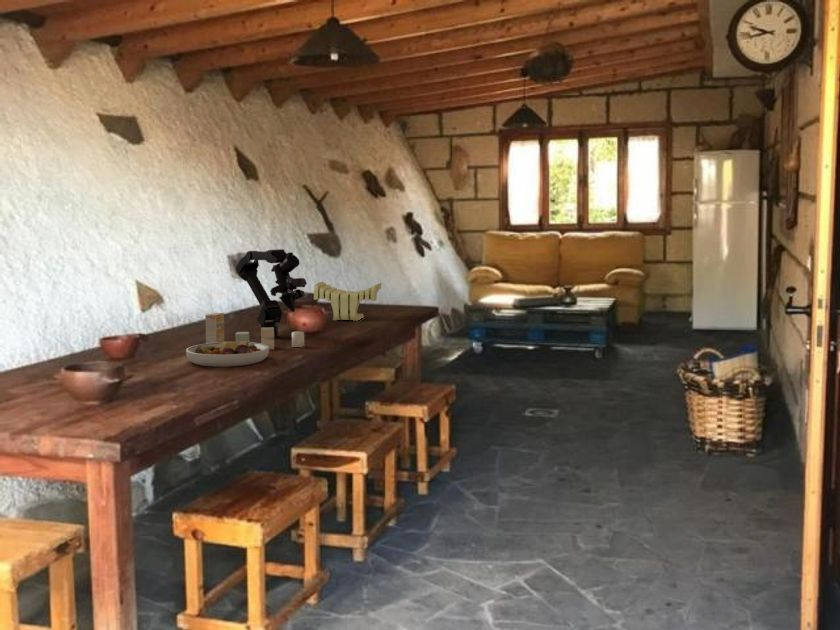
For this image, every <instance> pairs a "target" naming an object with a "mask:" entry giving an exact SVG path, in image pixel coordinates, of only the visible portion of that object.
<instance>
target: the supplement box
mask: <svg viewBox="0 0 840 630" xmlns="http://www.w3.org/2000/svg"><path fill="white" fill-rule="evenodd" d="M204 318H205V319H204V320H205V344H207V343H217V342H225V312H213V313H208V314H206V315H205V317H204Z"/></svg>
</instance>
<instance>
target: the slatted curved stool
mask: <svg viewBox="0 0 840 630" xmlns="http://www.w3.org/2000/svg"><path fill="white" fill-rule="evenodd" d="M381 289H382V282H379V283H376V284H375V285H373V286H371V287H368V288H366V289H362V290H356V291H353V290H352V291H351V290H343V289H340V288H339V289H338V288H337V287H334V286H332V285H330V284H327V283H326V282H324V281H319V282H317V283H315V284H314V287H313V300H314V301H315V300H324V299H325V300H326V301H328V302H330V305H331V309H332V312H333V313H332V314H333V317H332V321H337V320H341V321H342V320H350V321H351V320H353V321H352V322H359V321H358V320H360V319H361V318H363V317H365V316H364V314H363V313H358V308H359V305H360V302H362V301H364V300H365V301H366V300H367V301H369V300H370V301H372V302H376V301H377V295H378V292H379V291H380V290H381ZM363 319H364V318H363ZM360 321H361V320H360Z"/></svg>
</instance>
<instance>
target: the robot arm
mask: <svg viewBox="0 0 840 630" xmlns="http://www.w3.org/2000/svg"><path fill="white" fill-rule="evenodd" d="M259 261H266V263H268V264H275V265H272V268H271V271H270V272H273V273H274V275H275V278H276V280H275V284H277V285H276V286H274V287H272V288H270V291H269V292H270V296H273V297H275V296H277V294H278V293H279V294H281V295H280V297H278V299H279V300H280V301H281V302H283V304H284V305H285V306H286V307H287V308H288V309H289V310H290V312H292V313H294V312H295V311H296V301H297V300H299V299H302V298H303V297H305V296H306V294H305V291H304V290H301V289H298V288H306V286H307V280H306V279H305V278H304V277H302V278H300V277H298V278H297V277H296V278H294V277H292V276H291V275H290V273H291V272H292V271H294V270H295V269H296V268H297V267H298V266H299V265H300V259H299V258H298V257H297V256H296V255H295V254H294V253H293V252H286V251H285V249H283V248H282V249H277V248H276V249H269V250H266V251H265V250H264V251H260V250H249V251H247V252H246V253H245V255H244V256H242V257H241V258H240V259H239V261H238V263H237V264H236V267H235V271H236V273H237V275H238V276H239V278H241V279H242V280H244V281H245V282H246V283H247V284H248V286H249V288H250V290H251V291H252V294H253V295H254V297H255V298H256V300H257V303H259V306H260V308H259V314H258V316H257V318H256V321H257V324H260V329H261V328H273V327H274V339H275V338H277V337H279V326H278V323H281V321H282V315H283V312H282V309H281V305H280V304H279V302H278V301H277V300H276V299H274V300H273V299H271V298H270V296H269V295H268V293H267V292H266V290H265V287H264V285H263V284H262V283H261V280H260V279H259V277H258V268H259V267H260V264H259V263H260V262H259ZM259 338H260V339H261V335H260V336H259Z"/></svg>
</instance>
